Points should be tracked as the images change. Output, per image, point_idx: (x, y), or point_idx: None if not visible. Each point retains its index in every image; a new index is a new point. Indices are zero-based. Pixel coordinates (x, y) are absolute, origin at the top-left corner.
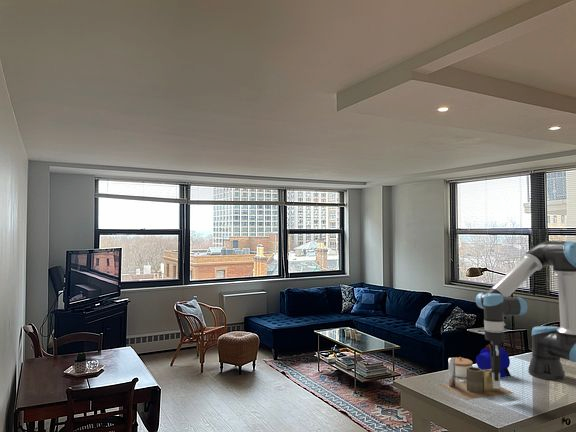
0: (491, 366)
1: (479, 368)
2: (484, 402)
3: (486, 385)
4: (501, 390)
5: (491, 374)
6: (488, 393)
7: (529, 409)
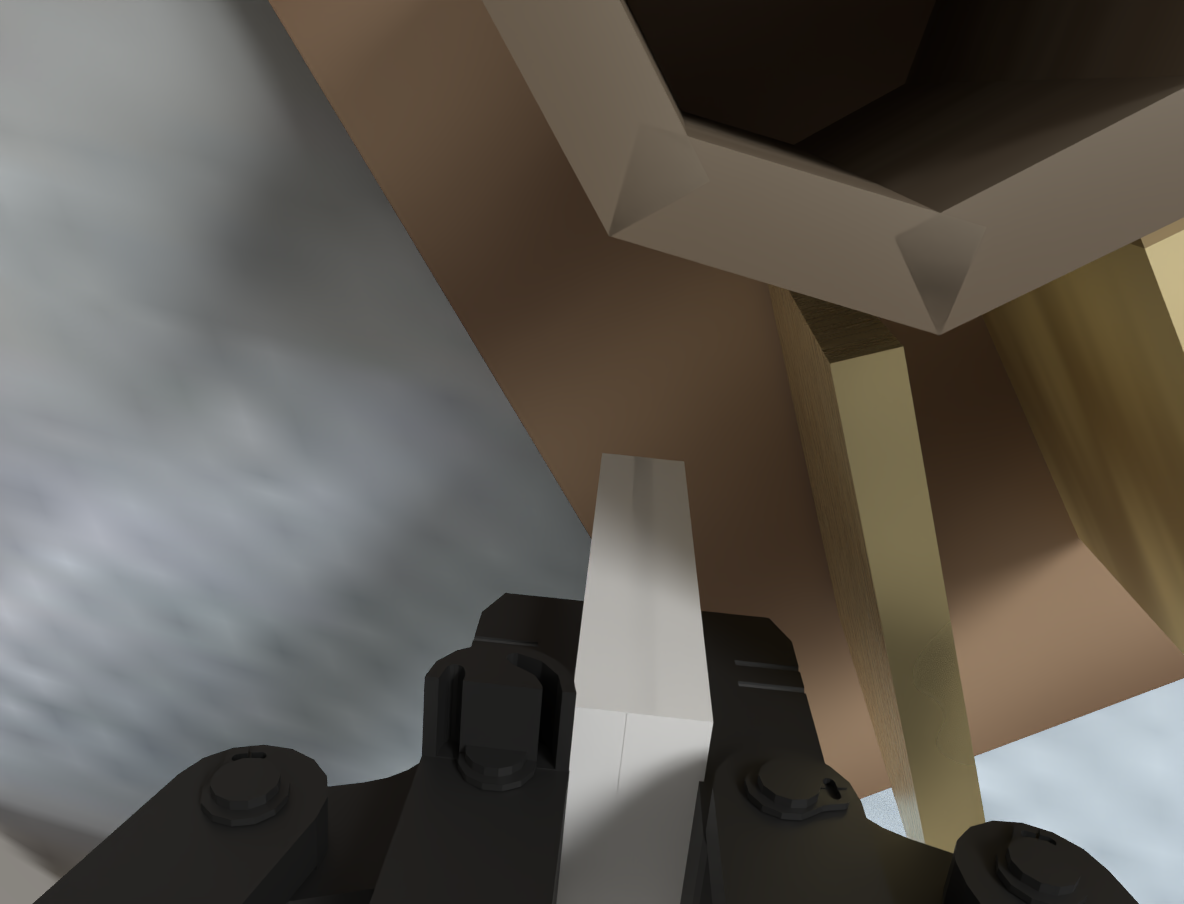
0: (1003, 890)
1: (1125, 204)
2: (219, 102)
3: (784, 326)
4: None
5: (875, 635)
6: (627, 303)
7: None
